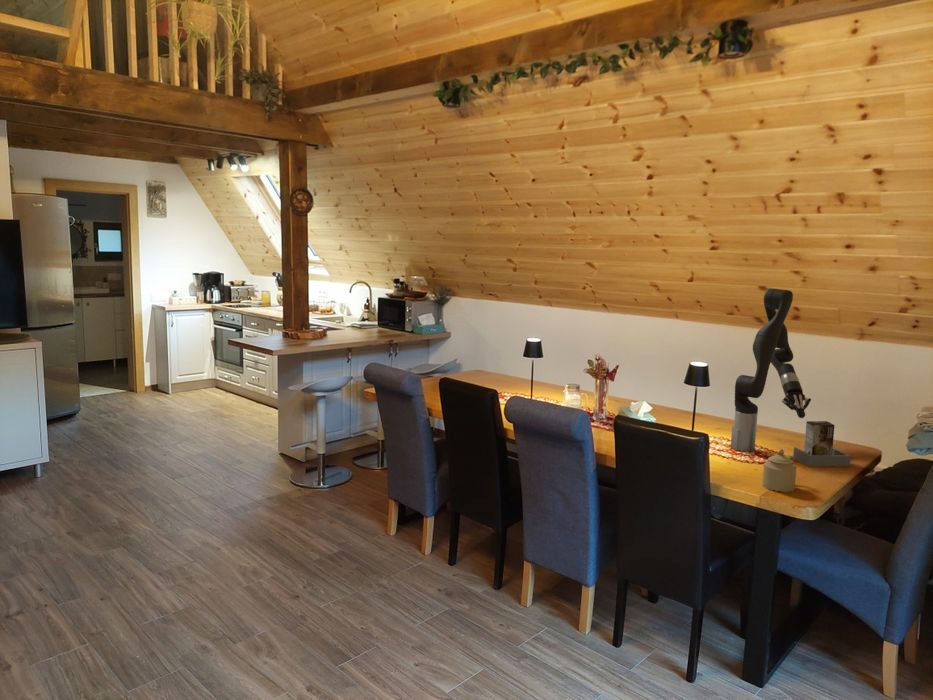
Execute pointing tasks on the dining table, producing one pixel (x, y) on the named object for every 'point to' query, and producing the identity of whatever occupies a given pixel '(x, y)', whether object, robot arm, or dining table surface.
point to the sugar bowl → (779, 473)
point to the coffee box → (819, 438)
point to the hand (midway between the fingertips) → (802, 417)
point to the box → (823, 458)
